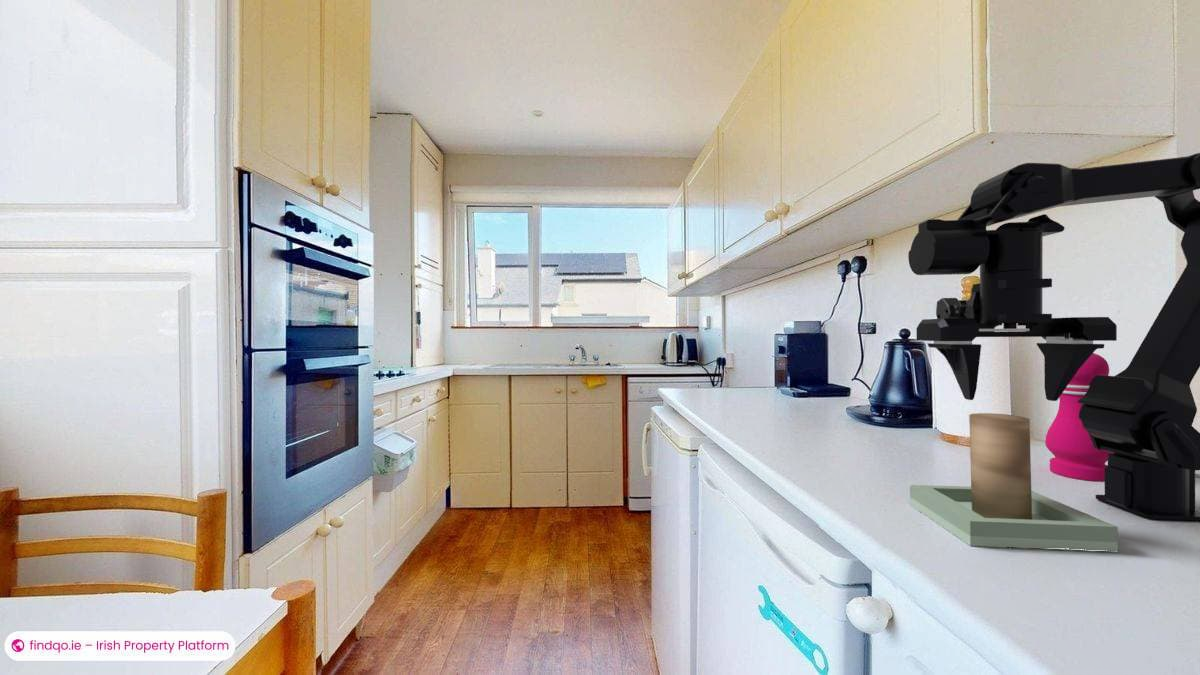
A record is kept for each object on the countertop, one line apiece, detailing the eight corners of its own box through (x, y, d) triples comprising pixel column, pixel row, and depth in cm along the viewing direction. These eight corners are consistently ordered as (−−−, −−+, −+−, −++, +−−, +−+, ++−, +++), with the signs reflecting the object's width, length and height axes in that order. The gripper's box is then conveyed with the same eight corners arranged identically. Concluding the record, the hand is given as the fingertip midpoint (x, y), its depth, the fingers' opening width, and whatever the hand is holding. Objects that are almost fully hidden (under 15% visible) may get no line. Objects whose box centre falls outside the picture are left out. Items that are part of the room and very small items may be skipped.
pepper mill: (1082, 468, 70) (1082, 340, 70) (1132, 483, 63) (1132, 340, 63) (1032, 467, 71) (1031, 340, 71) (1075, 482, 64) (1075, 341, 64)
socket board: (1026, 508, 55) (1025, 488, 55) (1117, 552, 44) (1117, 526, 44) (910, 504, 56) (909, 484, 56) (970, 545, 45) (970, 521, 45)
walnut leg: (991, 505, 53) (988, 411, 53) (1043, 521, 48) (1041, 419, 48) (960, 511, 52) (958, 415, 52) (1011, 528, 47) (1009, 423, 47)
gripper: (1039, 279, 62) (1039, 392, 62) (894, 282, 65) (894, 391, 65) (1121, 268, 51) (1121, 405, 51) (943, 271, 54) (943, 402, 54)
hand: (1009, 400), depth 56 cm, fingers open, 9 cm apart
